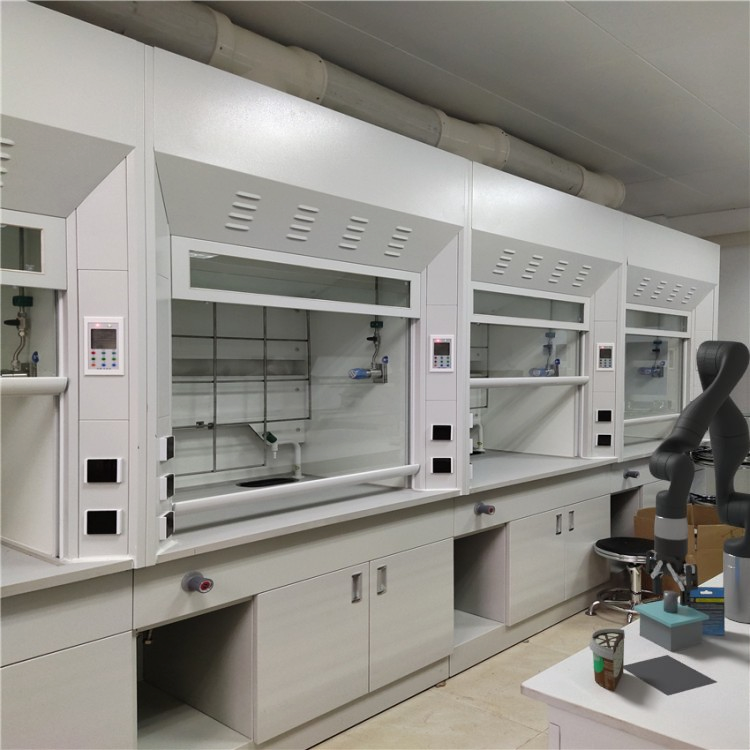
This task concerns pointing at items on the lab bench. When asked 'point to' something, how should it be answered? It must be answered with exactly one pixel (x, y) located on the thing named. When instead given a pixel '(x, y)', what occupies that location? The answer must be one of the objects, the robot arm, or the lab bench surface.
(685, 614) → the lid
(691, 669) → the mat
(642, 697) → the lab bench surface
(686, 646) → the tub
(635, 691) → the lab bench surface
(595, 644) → the food container
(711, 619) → the label tape cartridge
